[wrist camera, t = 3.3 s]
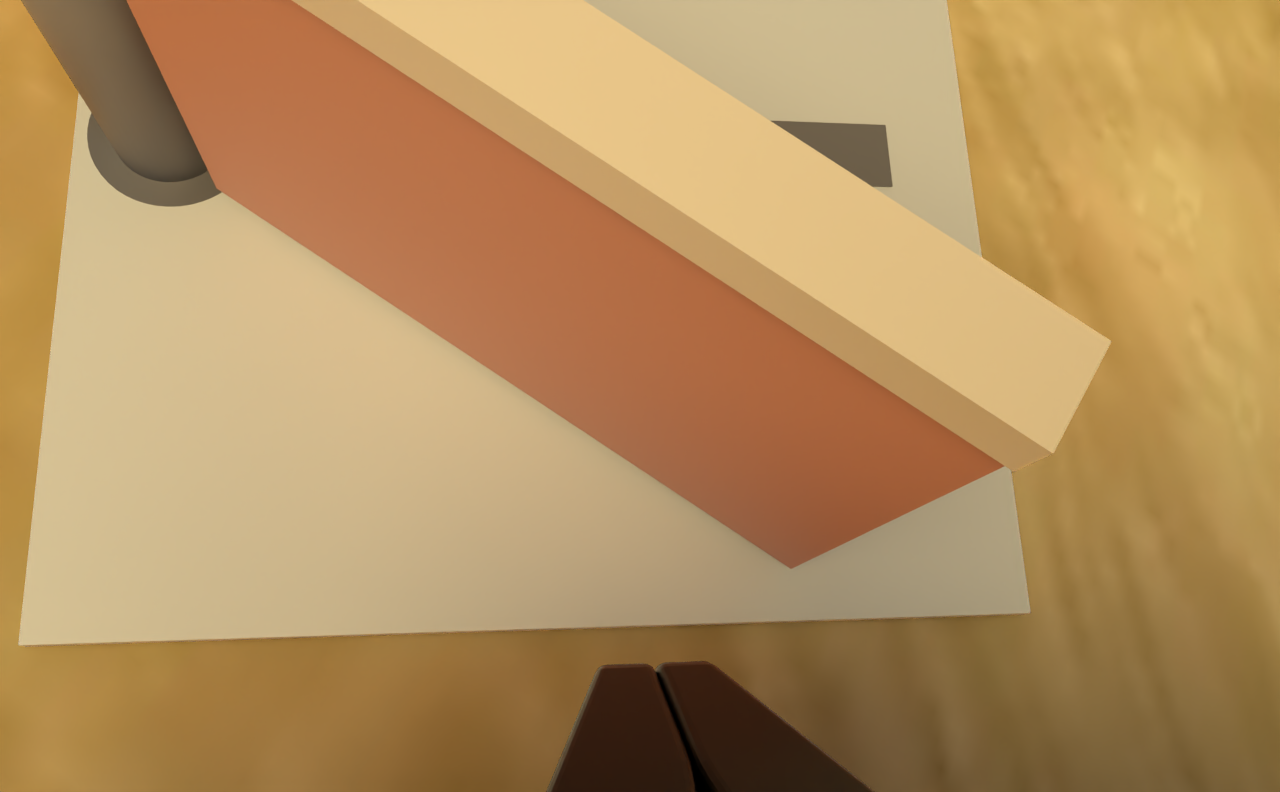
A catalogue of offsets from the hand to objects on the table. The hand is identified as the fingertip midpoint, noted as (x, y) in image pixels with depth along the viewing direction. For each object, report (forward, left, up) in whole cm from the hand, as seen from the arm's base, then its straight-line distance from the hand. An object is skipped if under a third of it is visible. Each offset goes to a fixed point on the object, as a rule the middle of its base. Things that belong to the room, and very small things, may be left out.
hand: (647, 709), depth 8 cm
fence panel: (+5, -2, -8) cm, 10 cm away
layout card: (+8, -4, -9) cm, 13 cm away
